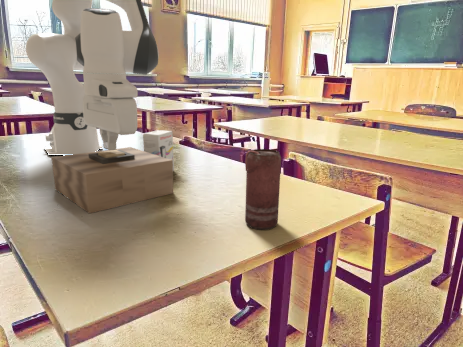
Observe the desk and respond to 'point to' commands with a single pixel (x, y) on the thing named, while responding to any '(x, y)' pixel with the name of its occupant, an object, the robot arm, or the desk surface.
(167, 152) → the ink box
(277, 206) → the can
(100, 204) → the sleeve block
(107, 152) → the peg
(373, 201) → the desk surface
